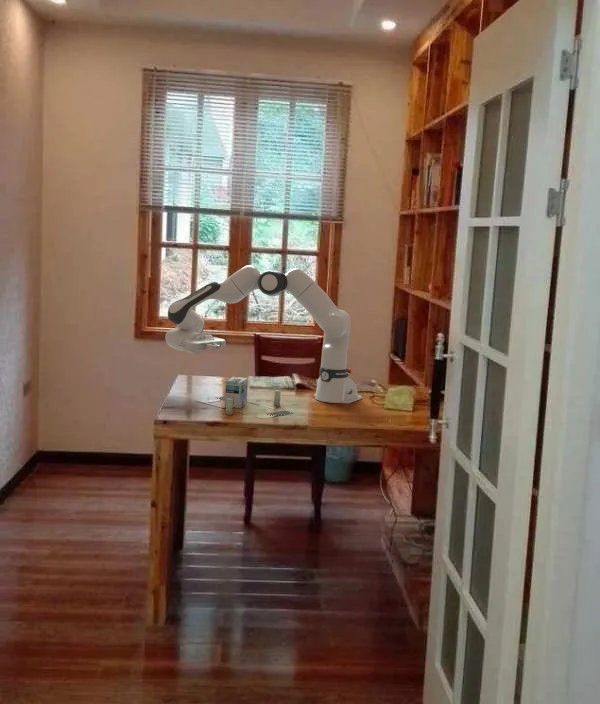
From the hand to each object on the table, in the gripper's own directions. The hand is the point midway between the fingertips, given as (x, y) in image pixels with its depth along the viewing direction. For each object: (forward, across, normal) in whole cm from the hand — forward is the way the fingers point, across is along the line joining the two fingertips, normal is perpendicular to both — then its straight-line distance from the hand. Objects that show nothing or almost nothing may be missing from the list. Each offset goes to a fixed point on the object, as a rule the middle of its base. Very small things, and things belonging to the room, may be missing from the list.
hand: (217, 347), depth 328 cm
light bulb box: (+12, 0, +22) cm, 25 cm away
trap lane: (+17, 0, +22) cm, 28 cm away
